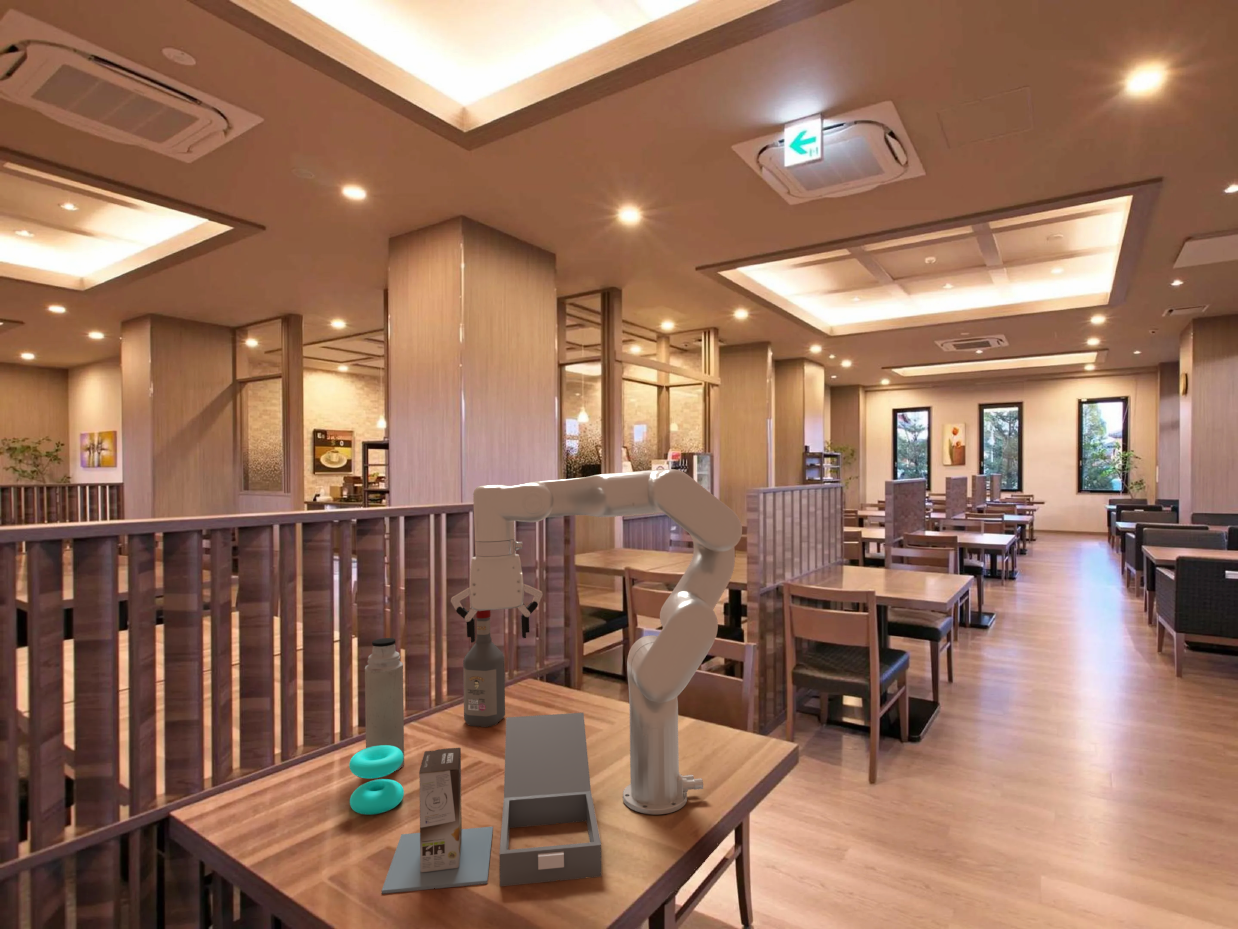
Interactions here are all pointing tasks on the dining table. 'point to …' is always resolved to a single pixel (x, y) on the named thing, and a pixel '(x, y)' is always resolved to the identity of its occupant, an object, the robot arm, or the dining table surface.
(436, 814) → the coffee box
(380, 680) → the thermos bottle
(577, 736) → the case lid
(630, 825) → the dining table surface
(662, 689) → the robot arm
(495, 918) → the dining table surface
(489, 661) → the liquor
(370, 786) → the donuts
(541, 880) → the case
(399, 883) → the slate mat
